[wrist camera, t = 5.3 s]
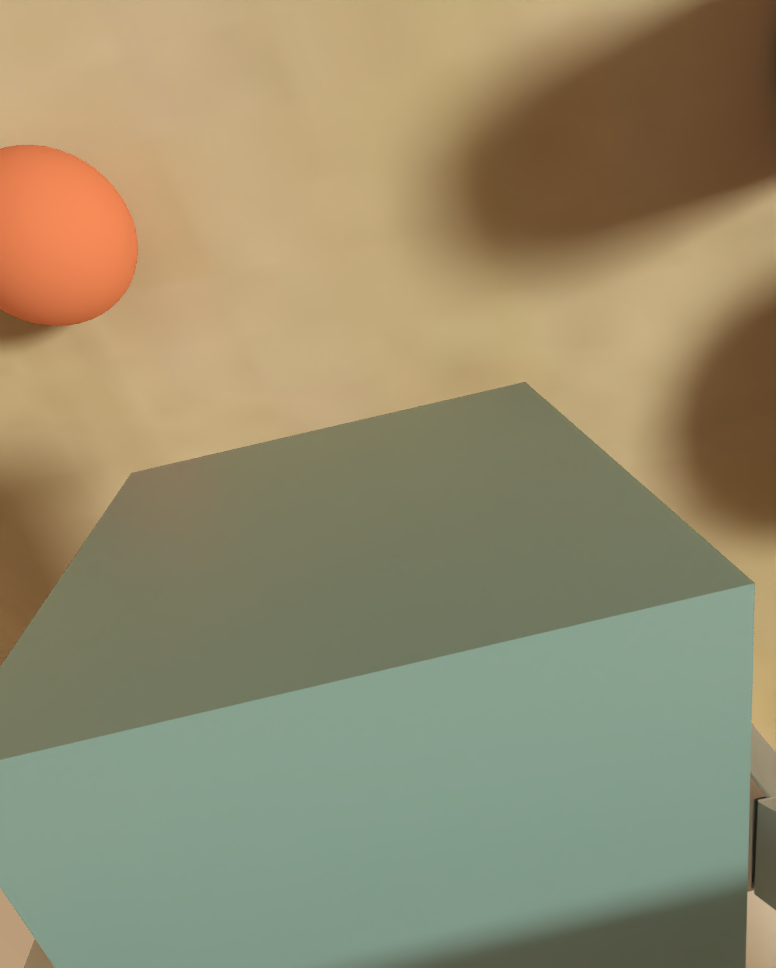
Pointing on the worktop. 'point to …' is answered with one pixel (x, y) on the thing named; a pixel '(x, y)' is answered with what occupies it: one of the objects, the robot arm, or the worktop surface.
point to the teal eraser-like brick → (386, 711)
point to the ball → (61, 238)
